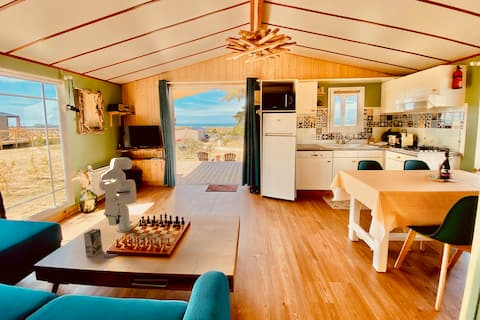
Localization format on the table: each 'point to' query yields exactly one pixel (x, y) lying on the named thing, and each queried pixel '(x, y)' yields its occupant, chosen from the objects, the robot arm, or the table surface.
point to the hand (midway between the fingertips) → (114, 223)
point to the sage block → (112, 220)
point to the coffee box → (93, 242)
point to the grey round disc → (110, 255)
